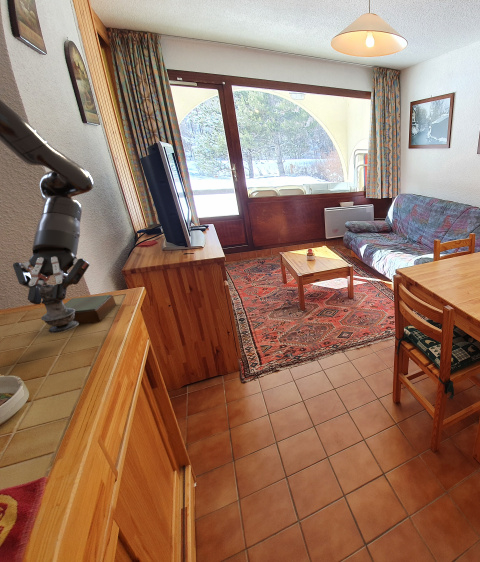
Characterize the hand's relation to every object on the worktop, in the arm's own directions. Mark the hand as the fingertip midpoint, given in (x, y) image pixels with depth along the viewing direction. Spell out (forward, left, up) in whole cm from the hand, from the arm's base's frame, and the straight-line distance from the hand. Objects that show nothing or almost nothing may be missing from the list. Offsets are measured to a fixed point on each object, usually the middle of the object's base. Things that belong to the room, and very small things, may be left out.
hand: (46, 301), depth 70 cm
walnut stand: (-2, +15, -11) cm, 19 cm away
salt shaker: (0, +2, -8) cm, 8 cm away
